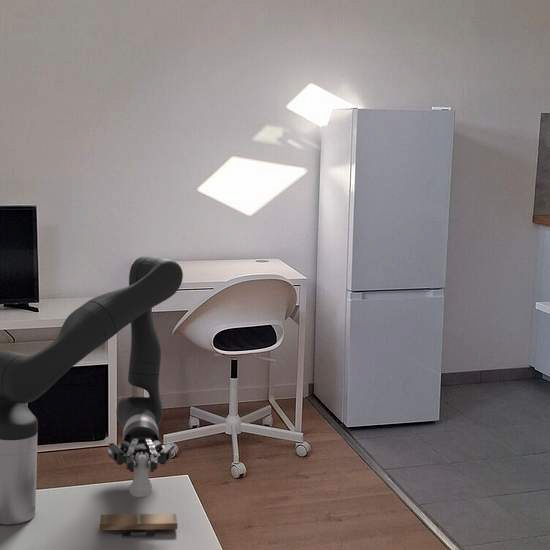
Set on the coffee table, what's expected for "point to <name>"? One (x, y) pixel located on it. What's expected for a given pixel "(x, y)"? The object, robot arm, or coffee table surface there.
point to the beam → (137, 521)
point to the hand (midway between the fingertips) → (142, 467)
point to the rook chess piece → (141, 476)
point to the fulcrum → (138, 533)
